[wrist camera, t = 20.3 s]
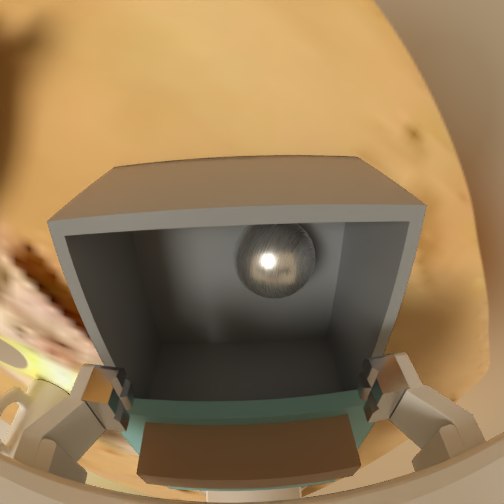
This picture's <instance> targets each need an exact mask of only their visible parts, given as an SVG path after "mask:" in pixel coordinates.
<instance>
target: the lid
mask: <svg viewBox="0 0 504 504" xmlns="http://www.w3.org/2000/svg"><path fill="white" fill-rule="evenodd" d="M364 405H365V402H364V401H363V400H362V399H360V397H359V394H358V390H357V389H356V390H350V391H344V392H337V393H330V394H322V395H314V396H305V397H295V398H283V399H270V400H252V401H169V400H151V399H138V398H134V401H133V406H132V407H131V408H130V409H129V410H128V411H127V412H128V414H129V416H130V419H129V423H128V427H127V431H126V432H124V431H120V432H121V433H122V435H123V436H124V437H125V439H126V440H127V441H128V442H129V443H130V445H131V446H132V447H133V448H134V450H135V451H136V452H137V453H138V454H139V461H138V468H137V475H138V476H139V477H141V478H142V479H143V480H144V481H145V482H146V483H147V484H154V485H163V486H168V487H169V488H171V489H183V490H200V491H255V490H272V489H283V488H293V487H302V486H309V485H316V484H323V483H329V482H334V481H335V480H336V479H339V478H344V477H349V476H353V475H354V473H355V472H356V471H357V470H358V469H359V467H360V466H361V463H360V459H359V455H358V451H357V449H358V448H359V446H360V445H361V443H362V442H363V440H364V439H365V437H366V436H367V434H368V433H369V431H370V429H371V428H372V426H373V424H374V423H375V422H370V423H368V422H367V419H366V416H365V413H364V410H363V407H364Z"/></svg>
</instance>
